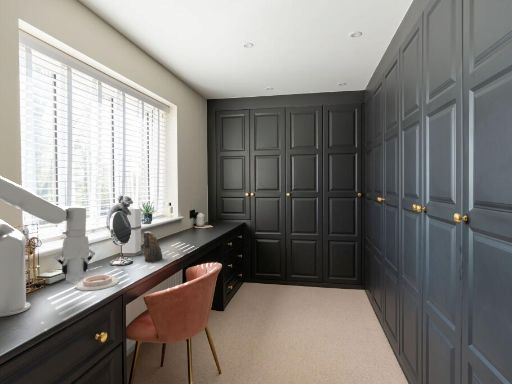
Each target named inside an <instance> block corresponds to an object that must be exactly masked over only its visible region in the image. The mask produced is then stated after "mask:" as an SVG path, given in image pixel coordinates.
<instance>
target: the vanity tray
mask: <svg viewBox="0 0 512 384" xmlns="http://www.w3.org/2000/svg"><path fill="white" fill-rule="evenodd" d="M119 281H120V280H119V278H117V277H115V276H114V277H113V276H112V275H111V274H110V275H109V274H96V275H92V276H87V277H84V278H83V279H82V280H80V281H78V283H76V284H75V285H74V286H75V288H74V289H76V290H78V291H82V292H84V291H85V292H90V291H98V290H104V289H108V288H112V287H114V286H116V285H118V284H119Z"/></svg>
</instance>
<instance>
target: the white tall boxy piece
mask: <svg viewBox="0 0 512 384" xmlns="http://www.w3.org/2000/svg"><path fill="white" fill-rule="evenodd" d="M127 208H128V209H129V210H130V211H131V213H132V215H131V216H129V215H128V219H129V221H130V224H131V235H130V239H129V241H128V243H126V244H125V245H123V246H122V253H123V256H122V257H136V256H139V255H140V254H142V244H141V243H142V238H141V237H142V236H141V235H142V208H141V207H127Z"/></svg>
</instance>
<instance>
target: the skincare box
mask: <svg viewBox="0 0 512 384" xmlns="http://www.w3.org/2000/svg"><path fill="white" fill-rule="evenodd" d="M66 265H67V274H66V275H65V280H66V281H69V282H70V281H71V282H72V281H78V282H81V281H83V280H84V279H85V274H84V273H85V272H84V258H80V254H77V259H72V260H68V262H67V263H66Z"/></svg>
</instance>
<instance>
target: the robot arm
mask: <svg viewBox="0 0 512 384" xmlns="http://www.w3.org/2000/svg"><path fill="white" fill-rule="evenodd" d="M0 202H3V203H5V204H8V206H9V205H10V206H12V207H14V208H15V209H18V210H21V211H23V212H26V213H28V214H30V215H32V216H34V217H35V218H39V219H41V220H43V221H45V222H47V223H50V224H52V225H58V224H62V223H63V222H66V228H65V230H64V231H62V235H65V236H64V238H63V241H62V242H63V243H62V248H61V251H59V252H58V253H57V254H56V255H55V256H54V257H53V259H54V260H55V261H56V262H57V263H59V264H60V265H61V267H62V268H61V273H63V275H65V276H66V274H67V265H66V263H67V262H68V260H72V259H77V254H80V258H84V273H86V272H87V270H88V269H89V268H88V263H89V262H90V260H91V259H93V257H94V256H95V255H96V252H94V251H93V250H91V249H90V245H89V237H88V235H87V233H86V230H87V229H86V228H87V227H86V225H87V207H85V206H83V205H70V206H68V205H67V206H66V205H57V204H55V203H52V202H50V201H48V200H46V199H45V198H42V197H41V196H39V195H37V194H36V193H34V192H33V191H32V190H30V189H28V188H26V187H24V186H22V185H19V184H17V183H15V182H14V181H11V180H9V179H7V178H4V177H2V176H1V175H0ZM27 241H28V240H27V238H26V236H25V234H24V233H22V232H21V231H20V230H18V229H16V228H14V227H13V226H11V225H10V224H9V223H7V222H5V220H2V219H0V317H8V316H9V317H10V316H12V315H18V314H20V313H23V312H25V311H27V310H29V309H30V308H31V306H32V305H31V304H32V303H31V302H28V301H27V296H26V295H27V291H26V289H27V288H26V286H27V285H26V283H27V282H26V246H27ZM61 258H63V259H62V260H61Z"/></svg>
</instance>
